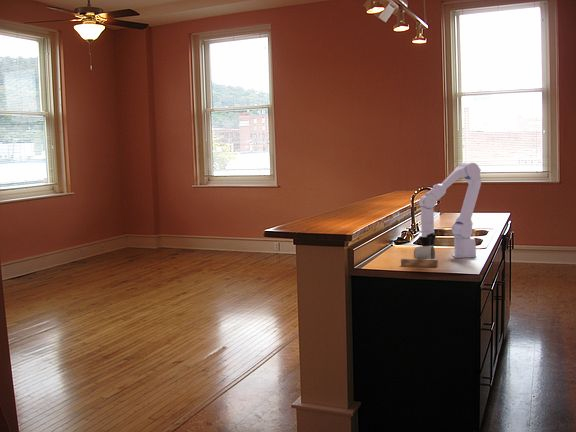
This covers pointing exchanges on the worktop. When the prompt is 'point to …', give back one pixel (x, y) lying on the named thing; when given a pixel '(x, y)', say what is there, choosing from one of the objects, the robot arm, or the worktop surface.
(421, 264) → the rail
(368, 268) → the worktop surface
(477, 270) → the worktop surface
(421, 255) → the ceramic mug
